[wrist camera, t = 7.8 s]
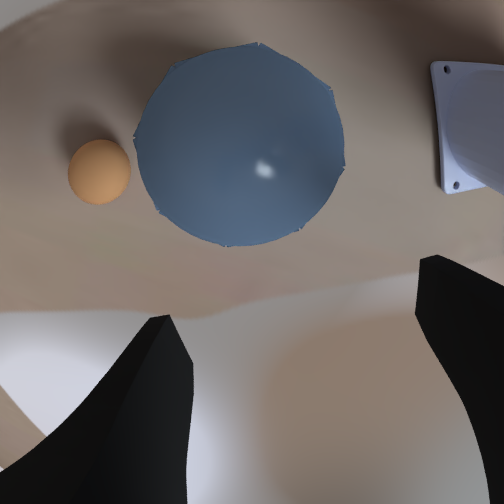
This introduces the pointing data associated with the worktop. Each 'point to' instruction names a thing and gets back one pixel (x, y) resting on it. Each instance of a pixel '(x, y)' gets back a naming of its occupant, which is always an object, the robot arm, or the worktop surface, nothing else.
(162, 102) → the cup
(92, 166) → the ball
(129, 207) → the worktop surface
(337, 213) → the worktop surface
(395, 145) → the worktop surface
